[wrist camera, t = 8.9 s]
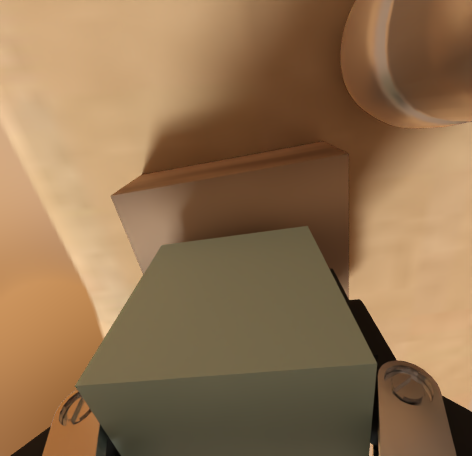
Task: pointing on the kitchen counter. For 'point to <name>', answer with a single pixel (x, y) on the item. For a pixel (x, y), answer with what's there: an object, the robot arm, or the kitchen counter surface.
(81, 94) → the kitchen counter surface
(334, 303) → the sage cube
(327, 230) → the walnut block
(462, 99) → the plastic bottle
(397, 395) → the robot arm
